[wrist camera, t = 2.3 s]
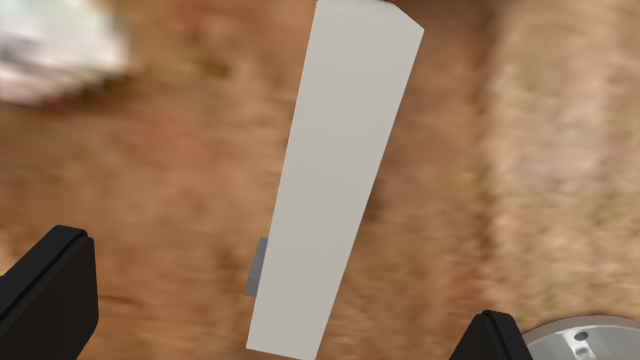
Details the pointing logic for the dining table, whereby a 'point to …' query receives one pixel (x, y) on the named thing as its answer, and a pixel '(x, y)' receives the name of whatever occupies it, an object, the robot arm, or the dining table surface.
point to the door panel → (329, 168)
